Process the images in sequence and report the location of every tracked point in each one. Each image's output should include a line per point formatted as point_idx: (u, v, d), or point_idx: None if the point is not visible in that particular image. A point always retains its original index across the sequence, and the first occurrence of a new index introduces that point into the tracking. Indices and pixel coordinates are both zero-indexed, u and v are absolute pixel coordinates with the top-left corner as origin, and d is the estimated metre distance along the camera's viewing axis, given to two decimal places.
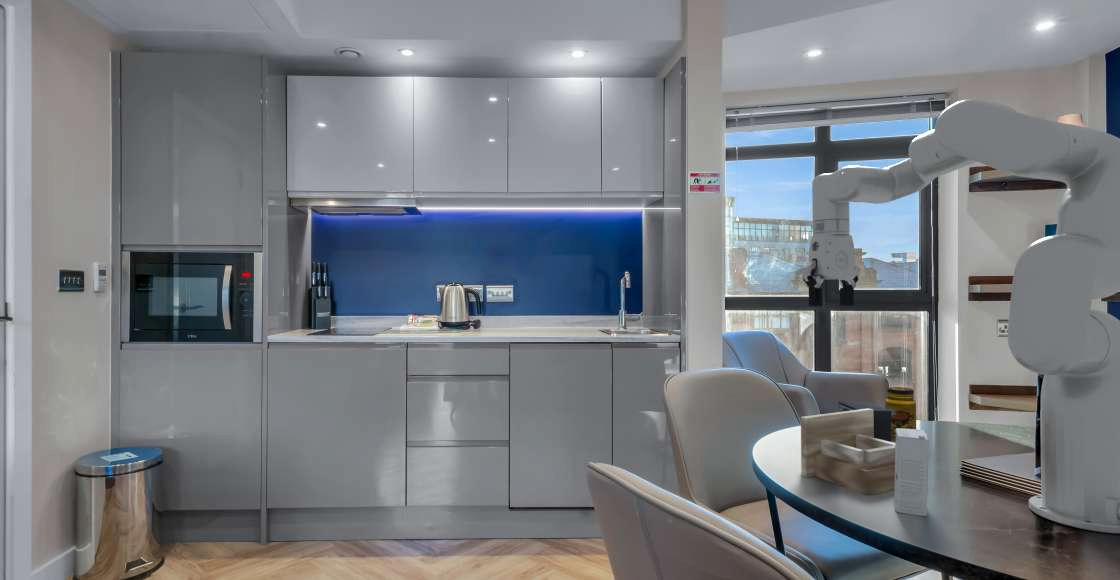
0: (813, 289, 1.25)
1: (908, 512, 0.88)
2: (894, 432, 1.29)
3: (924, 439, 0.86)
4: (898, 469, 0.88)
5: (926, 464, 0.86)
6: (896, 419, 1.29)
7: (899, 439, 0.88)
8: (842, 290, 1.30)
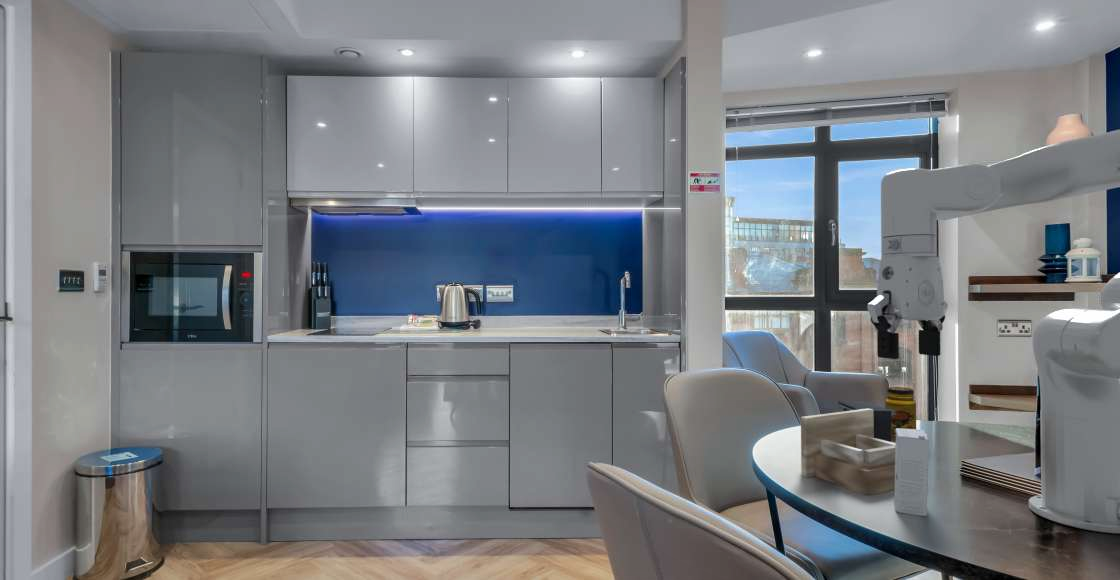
0: (885, 335, 0.87)
1: (908, 512, 0.88)
2: (894, 432, 1.29)
3: (924, 439, 0.86)
4: (898, 469, 0.88)
5: (926, 464, 0.86)
6: (896, 419, 1.29)
7: (899, 439, 0.88)
8: (922, 333, 0.92)
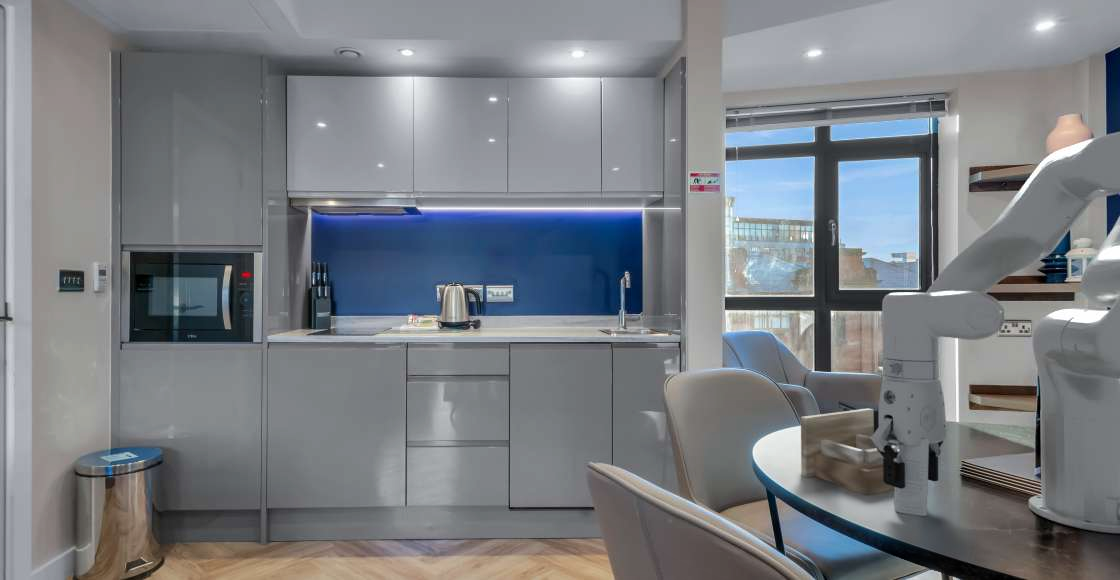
0: (891, 463, 0.88)
1: (908, 512, 0.88)
2: None
3: (924, 439, 0.86)
4: None
5: (926, 464, 0.86)
6: None
7: None
8: None
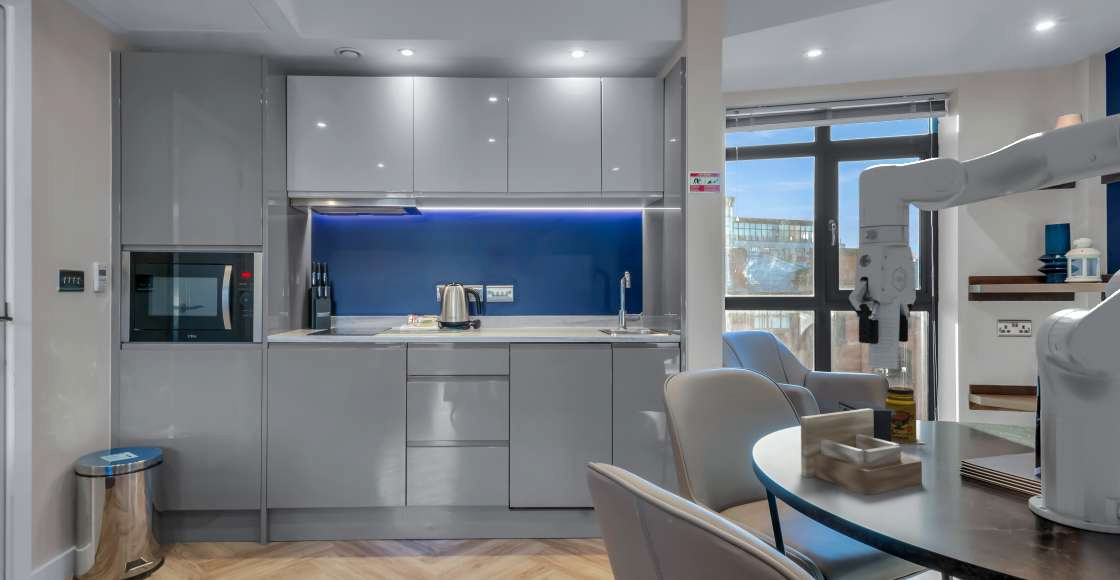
0: (866, 321, 0.95)
1: (881, 366, 0.95)
2: (894, 432, 1.29)
3: (896, 297, 0.94)
4: None
5: (897, 320, 0.94)
6: (896, 419, 1.29)
7: None
8: None
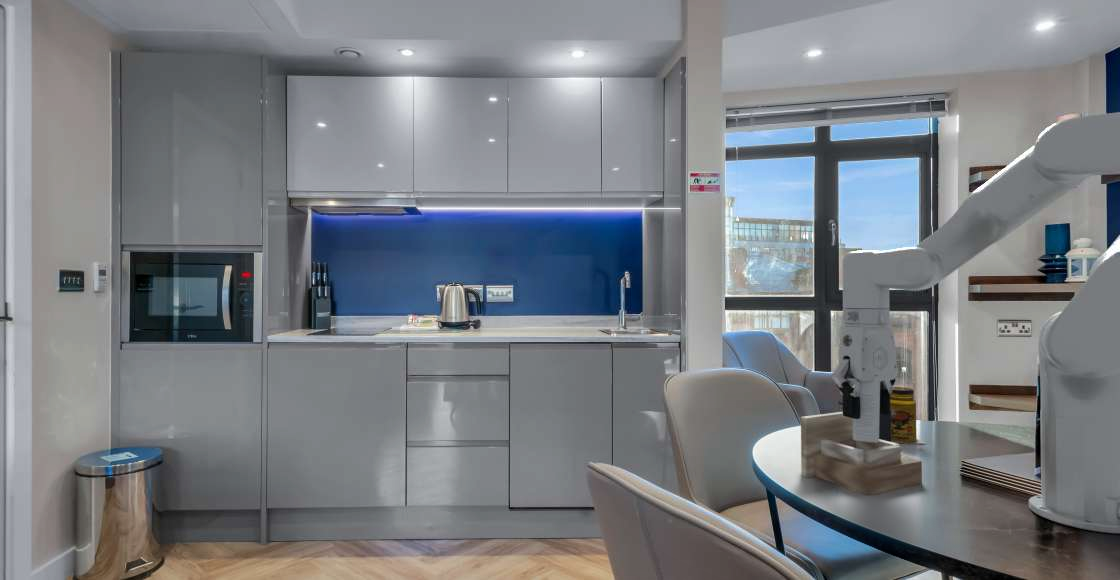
0: (848, 397, 1.01)
1: (863, 440, 1.01)
2: (894, 432, 1.29)
3: (876, 376, 1.00)
4: None
5: (878, 397, 1.00)
6: (896, 419, 1.29)
7: None
8: None
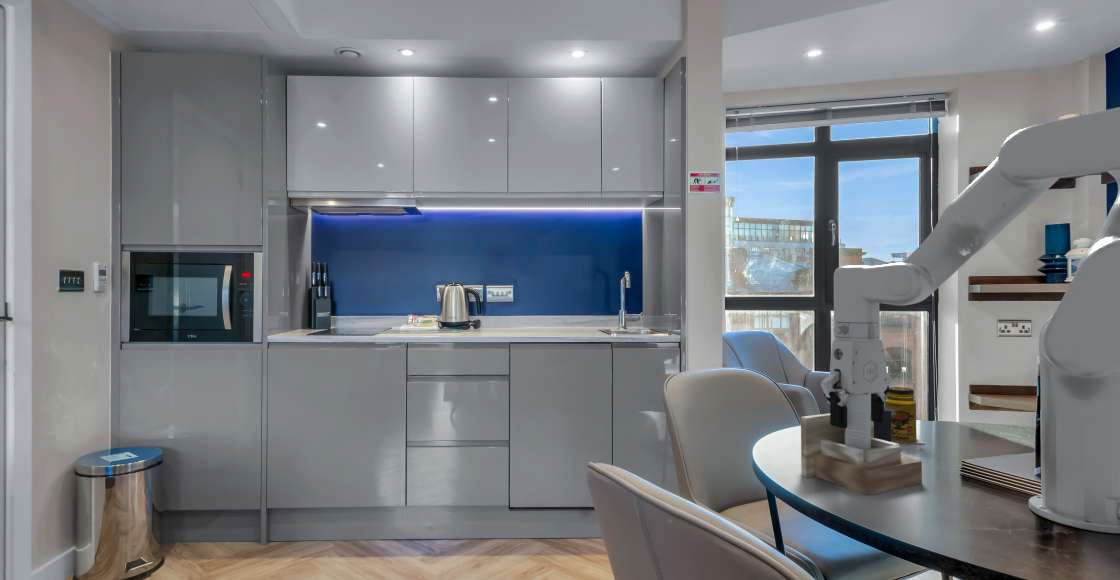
0: (835, 407, 1.03)
1: None
2: (894, 432, 1.29)
3: (867, 394, 1.02)
4: None
5: (869, 415, 1.02)
6: (896, 419, 1.29)
7: None
8: None
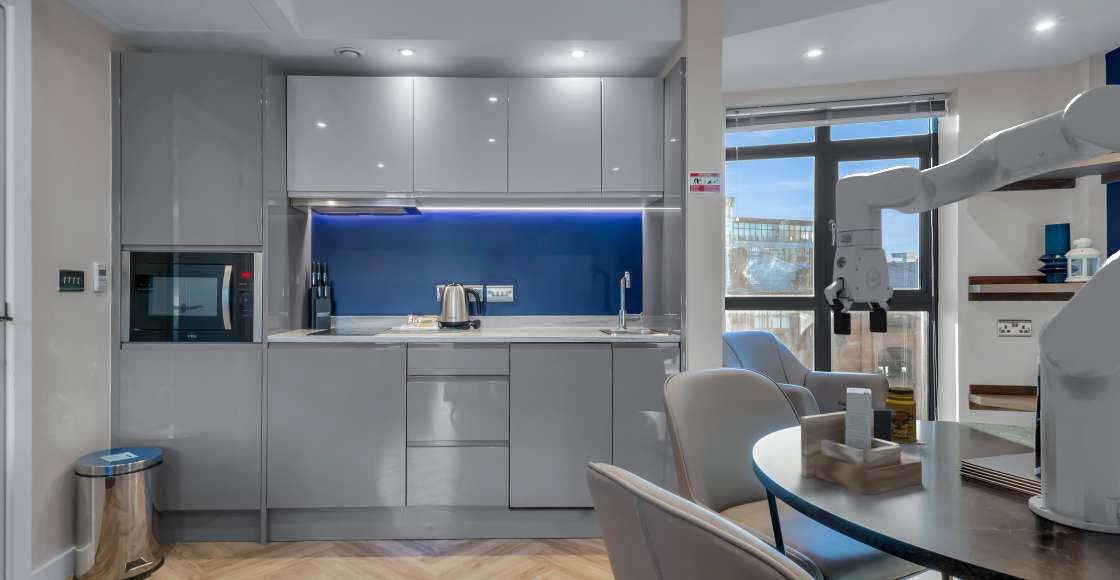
0: (839, 314, 1.03)
1: None
2: (894, 432, 1.29)
3: (868, 394, 1.02)
4: (846, 420, 1.03)
5: (869, 415, 1.02)
6: (896, 419, 1.29)
7: (847, 395, 1.03)
8: (872, 314, 1.08)
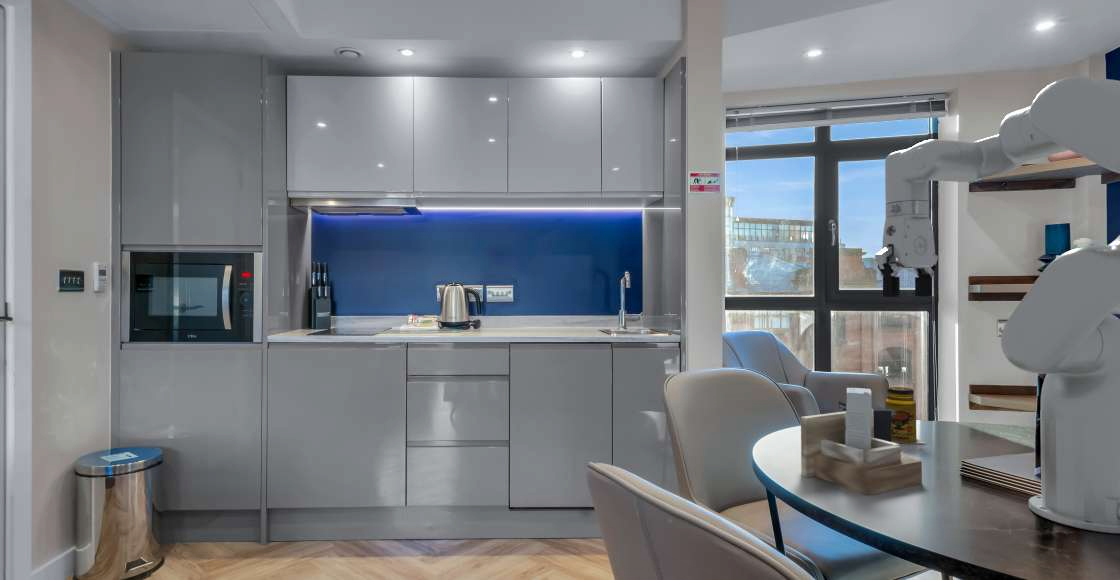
0: (889, 278, 1.12)
1: None
2: (894, 432, 1.29)
3: (868, 394, 1.02)
4: (846, 420, 1.03)
5: (869, 415, 1.02)
6: (896, 419, 1.29)
7: (847, 395, 1.03)
8: (918, 279, 1.18)
